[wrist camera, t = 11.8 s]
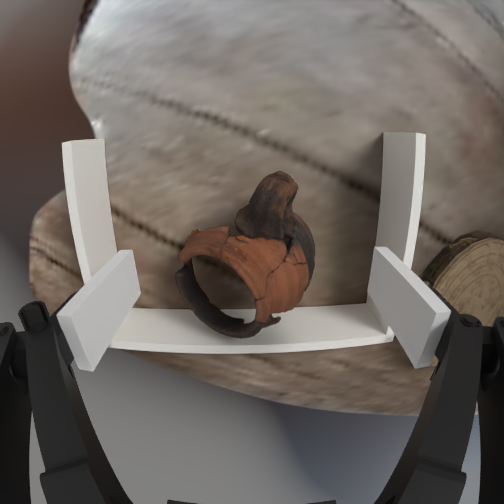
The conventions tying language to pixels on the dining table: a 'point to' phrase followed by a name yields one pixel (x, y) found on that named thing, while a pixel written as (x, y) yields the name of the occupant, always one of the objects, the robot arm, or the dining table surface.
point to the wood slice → (470, 276)
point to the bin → (268, 339)
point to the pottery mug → (254, 258)
